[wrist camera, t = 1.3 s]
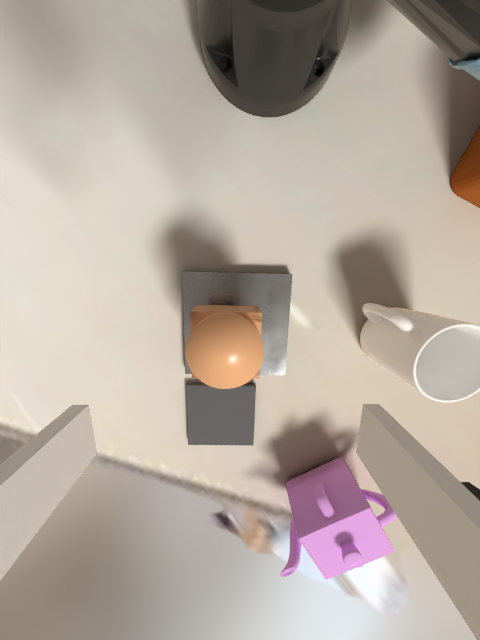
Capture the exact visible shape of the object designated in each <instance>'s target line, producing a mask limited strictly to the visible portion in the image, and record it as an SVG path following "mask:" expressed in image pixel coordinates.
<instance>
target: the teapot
mask: <svg viewBox="0 0 480 640" xmlns="http://www.w3.org/2000/svg"><path fill="white" fill-rule="evenodd" d="M285 484H286V488H287V493H288V497H289V501H290V506H291V510H292V515H293V518H292V520H291V524H290V555H289V560H288V562H287V565H286V567H285V568H284V569H283V571H282V572H281V576H282V577H285V576H289V575H291V574H292V573H294V572H295V570H296V569H297V567H298V565H299V561H300V551H301V544H302V545H303V546H304V547H305V549H306V550H307V552H308V553H309V555H310V556H311V558H312V559H313V561H314V562H315V564H316V565H317V567H318V568H319V570H320V571H321V573H322V574H323V576H324V577H325V579H329V578H331V577H334V576H336V575H339V574H341V573H344V572H346V571H349V570H351V569H354V568H356V567H362V566H363V565H364V564H366V563H368V562H371V561H373V560H375V559H378V558H380V557H383V556H385V555H387V554H390V553H392V552H394V549H393V547H392V545H391V543H390V541H389V539H388V538H387V536H386V534H385V532H384V530H383V529H382V527H384V526H386V525H387V524H389V523H390V522H392V521H393V520H394V519H395V518H396V517H397V515H396V513H395V512H394V510H393V509H392V507H391V506H390V504H389V502H388V501H387V499H386V498H385V496H384V495H382V494H378V493H375V492H372V491H368V490H363V489H360V487H359V486H358V484H357V482H356V480H355V479H354V477H353V475H352V473H351V472H350V470H349V468H348V466H347V465H346V463H345V461H344V459H343V458H342V456H340V457H338V458H336V459H334V460H332V461H330V462H327V463H325V464H323V465H321V466H319V467H317V468H315V469H312V470H310V471H308V472H306V473H304V474H302V475H300V476H297V477H295V478H293V479H291V480H289V481H287V482H285ZM366 499H369V500H371V501H373V502H376V503H377V504H379V505H381V506H382V507H384V508H385V509H386V510H385V512H384V513H382V514H381V515H379V516H378V517H376V516H375V514H374V512H373V511H372V509H371V507H370V505H369V503H368V502H367V500H366Z"/></svg>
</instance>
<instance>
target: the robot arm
mask: <svg viewBox="0 0 480 640" xmlns="http://www.w3.org/2000/svg"><path fill="white" fill-rule="evenodd" d="M352 1H353V0H197V24H198V31H199V38H200V44H201V50H202V55H203V59H204V62H205V65H206V68H207V70H208V73H209V75H210V77H211V79H212V81H213V82H214V84H215V85H216V87H217V88H218V90H219V91H220V92H221V94H222V95H223V96H224V97H225V98H226V99H227V100H228V101H229V102H230V103H232V104H233V105H234V106H236V107H237V108H239V109H241V110H242V111H245V112H247V113H249V114H252V115H256V116H261V117H277V116H282V115H286V114H289V113H292V112H294V111H296V110H298V109H299V108H301V107H303V106H304V105H305V104H307V103H308V102H309V101H310V100H311V99H312V98H314V96H315V95H316V94H317V93H318V92H319V91H320V90H321V88H322V87H323V85H324V84H325V82H326V81H327V79H328V77H329V75H330V73H331V71H332V69H333V67H334V65H335V63H336V61H337V59H338V56H339V54H340V52H341V49H342V47H343V43H344V40H345V37H346V33H347V30H348V25H349V19H350V13H351V7H352ZM387 1H388V2H389V3H390V4H392V5H393V6H394V7H395V8H396V9H397V10H398V11H399V12H400V13H401V14H403V15H404V16H405V17H406V18H407V19H408V20H409V21H410V22H411V23H412V24H414V25H415V26H416V27H417V28H418V29H419V30H420V31H421V32H422V33H423V34H425V35H426V36H427V37H428V38H429V39H430V40H431V41H432V42H433V43H434V44H436V45H437V46H438V47H439V48H440V49H441V50H442V51H443V52H444V53H445V54H447V55H448V56H449V58H448V63H449V64H450V65H451V66H452V67H453V68H455V69H464V70H465V71H466V72H468V73H469V74H470V75H472V76H473V77H475V78H476V79H477V80H479V81H480V0H387ZM356 453H357V454H358V456H359V458H360V459H361V461H362V462H363V464H364V465H365V467H366V468H367V470H368V471H369V473H370V475H371V476H372V478H373V479H374V481H375V482H376V484H377V485H378V487H379V488H380V490H381V492H382V493H383V495H384V496H385V498H386V499H387V501H388V502H389V504H390V506H391V507H392V509H393V510H394V512H395V513H396V515H397V516H398V518H399V519H400V521H401V523H402V524H403V526H404V527H405V529H406V530H407V532H408V533H409V535H410V536H411V538H412V540H413V541H414V543H415V544H416V546H417V547H418V549H419V550H420V552H421V553H422V555H423V557H424V558H425V559H426V561H427V563H428V564H429V566H430V567H431V569H432V570H433V572H434V573H435V575H436V577H437V578H438V580H439V581H440V583H441V584H442V586H443V588H444V589H445V591H446V592H447V594H448V595H449V597H450V598H451V600H452V601H453V603H454V605H455V606H456V608H457V609H458V611H459V612H460V614H461V615H462V617H463V618H464V620H465V622H466V623H467V625H468V626H469V628H470V629H471V631H472V632H473V634H474V636H475V637H476V639H477V640H480V489H478V488H477V487H475V486H474V485H472V484H471V483H469V482H460V481H459V480H457V479H456V478H455V477H454V476H453V475H452V474H451V473H450V472H449V471H448V470H447V469H446V468H445V467H444V466H443V465H442V464H441V463H440V462H439V461H438V460H437V459H436V458H435V457H433V456H432V455H431V454H430V453H429V452H428V451H427V450H426V449H425V448H424V447H423V446H422V445H421V444H420V443H419V442H418V441H417V440H416V439H415V438H414V437H413V436H412V435H411V434H409V433H408V432H407V431H406V430H405V429H404V428H403V427H402V426H401V425H400V424H399V423H398V422H397V421H396V420H395V419H394V418H393V417H392V416H391V415H390V414H389V413H388V412H386V411H385V410H384V409H383V408H382V407H381V406H380V405H379V404H363V409H362V416H361V423H360V430H359V437H358V443H357V450H356ZM96 454H97V451H96V445H95V439H94V433H93V427H92V421H91V415H90V409H89V405H72V406H71V407H70V408H68V409H67V410H66V411H65V412H63V413H62V414H61V415H60V416H59V417H57V418H56V419H55V420H54V421H53V422H51V423H50V424H49V425H48V426H46V427H45V428H44V429H43V430H42V431H40V432H39V433H38V434H37V435H36V436H34V437H33V438H32V439H31V440H29V441H28V442H27V443H26V444H25V445H23V446H22V447H21V448H20V449H19V450H17V451H16V452H15V453H14V454H12V455H11V456H10V457H9V458H8V459H6V460H5V461H4V462H3V463H2V464H0V580H1V579H2V577H3V576H4V575H5V573H6V572H7V571H8V570H9V568H10V567H11V566H12V564H13V563H14V562H15V561H16V559H17V558H18V557H19V555H20V554H21V553H22V551H23V550H24V548H25V547H26V546H27V545H28V543H29V542H30V541H31V540H32V538H33V537H34V536H35V534H36V533H37V532H38V530H39V529H40V528H41V526H42V525H43V524H44V522H45V521H46V520H47V519H48V517H49V516H50V515H51V513H52V512H53V511H54V509H55V508H56V507H57V505H58V504H59V503H60V501H61V500H62V499H63V497H64V496H65V495H66V493H67V492H68V491H69V490H70V488H71V487H72V486H73V484H74V483H75V482H76V480H77V479H78V478H79V477H80V475H81V474H82V473H83V471H84V470H85V469H86V467H87V466H88V465H89V463H90V462H91V461H92V459H93V458H94V457H95V456H96Z"/></svg>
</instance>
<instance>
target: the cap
mask: <svg viewBox="0 0 480 640" xmlns="http://www.w3.org/2000/svg"><path fill="white" fill-rule="evenodd" d="M190 319H191V334H190V336H189V338H188V340H187V344H186V360H187V363H188V366H189V368H190V370H191V371H192V377H197V378H198V379H199V380H200V381H201V382H203V383H205V384H206V385H209V386H211V387H214V388H219V389H231V388H236V387H239V386H242V385H244V384H246V383H247V382H249V381H250V380H251V379H252V378H259V369H260V367H261V365H262V362H263V358H264V347H263V343H262V340H261V324H262V312H261V310H260V309H259V307H258V306H228V305H197V306H196V307H195V308H193V309H192V310H191V311H190Z"/></svg>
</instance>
